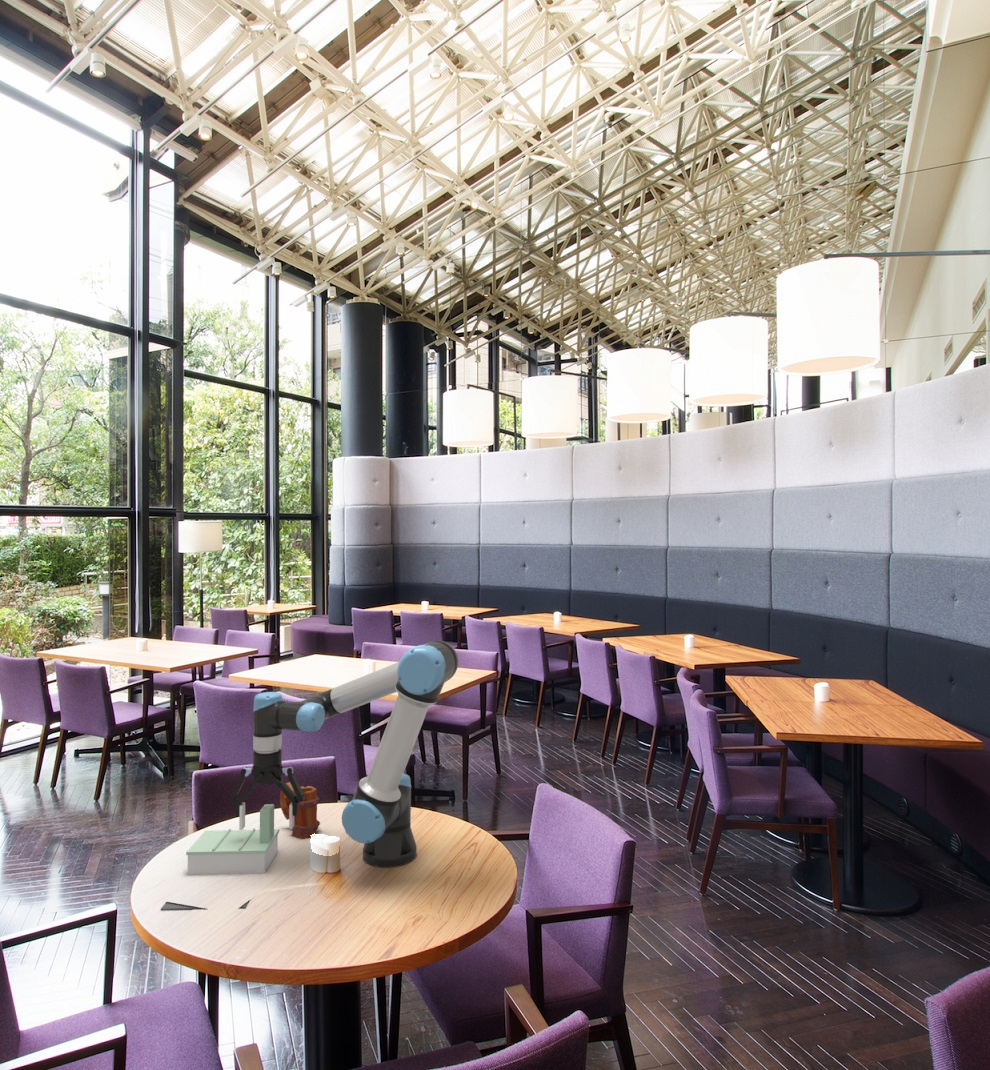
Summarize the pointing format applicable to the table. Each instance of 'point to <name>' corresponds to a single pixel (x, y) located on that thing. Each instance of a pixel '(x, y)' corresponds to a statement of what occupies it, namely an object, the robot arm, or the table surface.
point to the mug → (303, 812)
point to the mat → (186, 907)
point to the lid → (238, 838)
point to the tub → (232, 862)
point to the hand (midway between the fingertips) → (267, 827)
